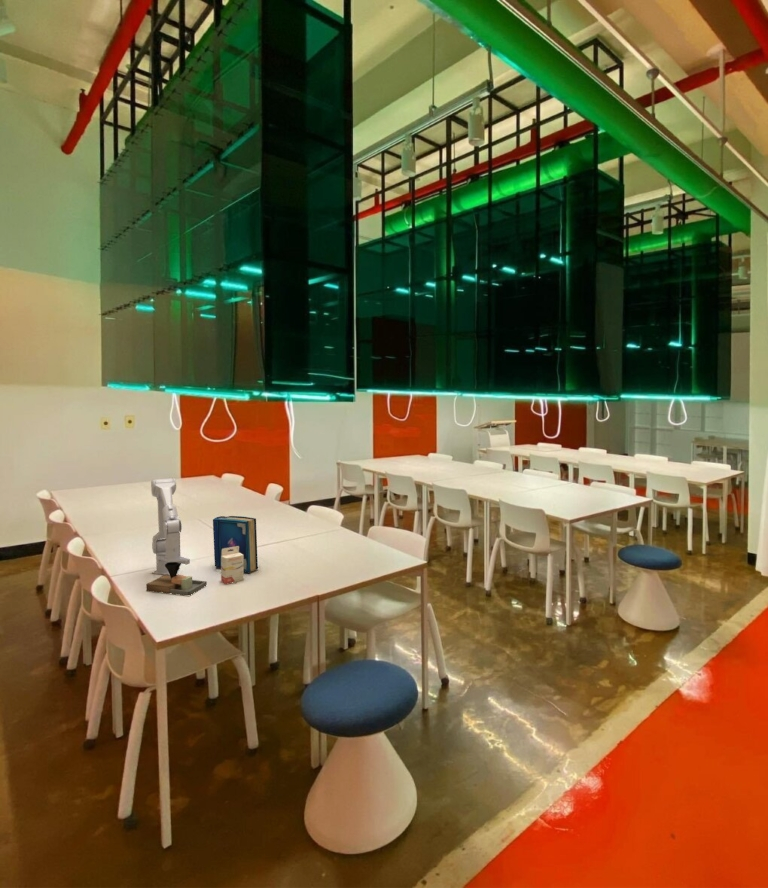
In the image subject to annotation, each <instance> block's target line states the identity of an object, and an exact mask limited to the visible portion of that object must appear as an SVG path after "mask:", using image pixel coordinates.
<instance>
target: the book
mask: <svg viewBox="0 0 768 888" xmlns="http://www.w3.org/2000/svg"><path fill="white" fill-rule="evenodd" d="M212 527H213V528H212V529H213V530H212V531H213V532H212V533H213V535H212V536H213V551H214V552H213V553H214V554H213V557H214V568H218V569H221V556H222V549H224V548H230V547H236V546H239V553H241V554H243V556H244V562H243V563H244V574H245V573H248V574H250V573H251V572H254V571H256V570H258V566H259V565H258V541H257V539H258V538H257V536H258V535H257V518H254V517H248V516H238V515H237V516H235V515H228V516H224V515H222V516H221V515H220V516H216V517H214V518H213V519H212ZM229 551H233V549H232V550H231V549H230V550H228V552H229Z"/></svg>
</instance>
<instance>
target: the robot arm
mask: <svg viewBox="0 0 768 888" xmlns="http://www.w3.org/2000/svg"><path fill="white" fill-rule="evenodd" d="M176 480H177V479H175V477H172V478H170V477H169V478H156V479H155V478H153V479H152V480H151V482H150V484H151V485H150V488H151V496H152V497H154V498H156V502H157V517H158V518H157V521H158V532H156V533H155V534H154V535H153V536H152V542H151V545H152V546H151V547H152V552H153V554H154V555H155V560H156V562H155V563H156V565H155V566H156V567H155V568H156V570H155V571H152V574H155V575H161V576H163V575H165V574H167V575H170V577H171V580H172V578H173V577H174V576H176V575H178V571H179V570H180V569H181V568H180V567H181V565H189V564H190V563H191V561H190V560H191V559H190V558H187V557H183V556H181V533H182V520H181V519H180V517H179V515H178V510H177V506H175V505H174V504H173V495H174V494H175V492H176V490H177V481H176Z"/></svg>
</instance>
